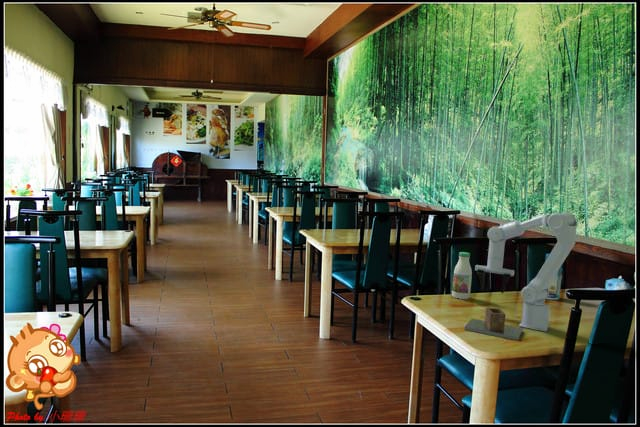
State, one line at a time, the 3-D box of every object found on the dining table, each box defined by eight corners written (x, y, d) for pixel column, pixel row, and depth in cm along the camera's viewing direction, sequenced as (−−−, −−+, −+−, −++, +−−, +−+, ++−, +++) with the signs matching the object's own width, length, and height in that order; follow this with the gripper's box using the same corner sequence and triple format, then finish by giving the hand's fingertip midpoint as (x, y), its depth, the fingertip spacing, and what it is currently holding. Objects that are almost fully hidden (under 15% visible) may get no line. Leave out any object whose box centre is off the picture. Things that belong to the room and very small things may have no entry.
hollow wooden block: (498, 324, 191) (500, 308, 190) (503, 331, 184) (505, 314, 184) (484, 323, 191) (486, 307, 191) (489, 329, 184) (490, 313, 184)
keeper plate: (522, 331, 189) (524, 317, 188) (518, 340, 178) (519, 326, 178) (471, 321, 197) (472, 308, 197) (464, 329, 187) (465, 316, 186)
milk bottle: (456, 294, 238) (460, 250, 236) (472, 297, 233) (476, 253, 231) (448, 296, 232) (452, 252, 230) (465, 300, 227) (469, 255, 225)
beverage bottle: (563, 300, 240) (568, 256, 238) (547, 300, 238) (552, 256, 236) (551, 295, 248) (556, 253, 246) (535, 295, 246) (540, 252, 244)
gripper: (516, 258, 206) (513, 292, 208) (478, 253, 213) (475, 286, 215) (514, 260, 200) (510, 295, 202) (475, 255, 207) (472, 289, 208)
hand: (492, 291), depth 208 cm, fingers open, 7 cm apart
